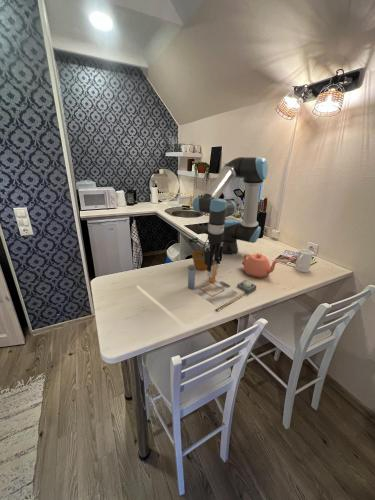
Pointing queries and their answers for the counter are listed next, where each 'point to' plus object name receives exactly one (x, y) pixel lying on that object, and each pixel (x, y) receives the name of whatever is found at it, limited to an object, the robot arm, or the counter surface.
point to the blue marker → (191, 276)
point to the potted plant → (199, 256)
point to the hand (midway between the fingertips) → (212, 275)
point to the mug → (303, 260)
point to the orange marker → (212, 280)
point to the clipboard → (216, 292)
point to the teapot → (258, 265)
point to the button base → (248, 290)
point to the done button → (247, 284)
